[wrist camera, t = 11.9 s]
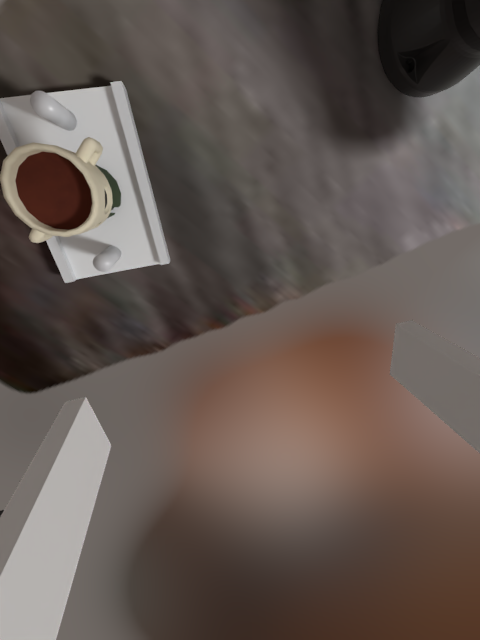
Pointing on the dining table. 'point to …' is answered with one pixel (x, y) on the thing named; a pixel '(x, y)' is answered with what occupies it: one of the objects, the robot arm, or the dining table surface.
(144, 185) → the tray
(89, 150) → the character mug
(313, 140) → the dining table surface
